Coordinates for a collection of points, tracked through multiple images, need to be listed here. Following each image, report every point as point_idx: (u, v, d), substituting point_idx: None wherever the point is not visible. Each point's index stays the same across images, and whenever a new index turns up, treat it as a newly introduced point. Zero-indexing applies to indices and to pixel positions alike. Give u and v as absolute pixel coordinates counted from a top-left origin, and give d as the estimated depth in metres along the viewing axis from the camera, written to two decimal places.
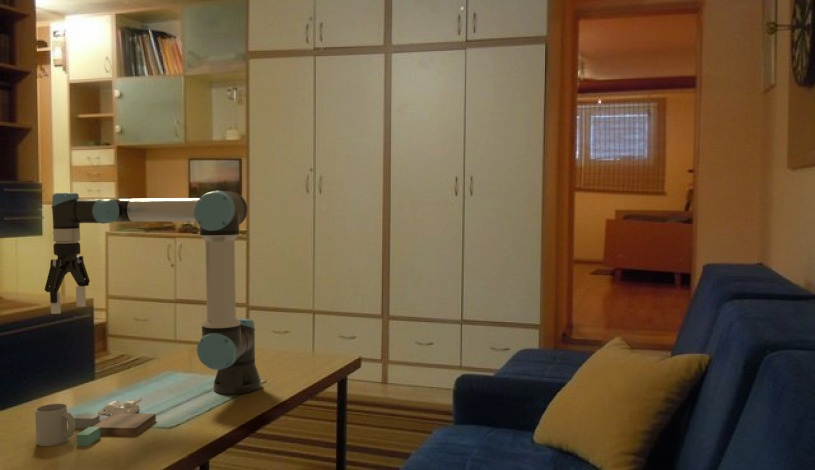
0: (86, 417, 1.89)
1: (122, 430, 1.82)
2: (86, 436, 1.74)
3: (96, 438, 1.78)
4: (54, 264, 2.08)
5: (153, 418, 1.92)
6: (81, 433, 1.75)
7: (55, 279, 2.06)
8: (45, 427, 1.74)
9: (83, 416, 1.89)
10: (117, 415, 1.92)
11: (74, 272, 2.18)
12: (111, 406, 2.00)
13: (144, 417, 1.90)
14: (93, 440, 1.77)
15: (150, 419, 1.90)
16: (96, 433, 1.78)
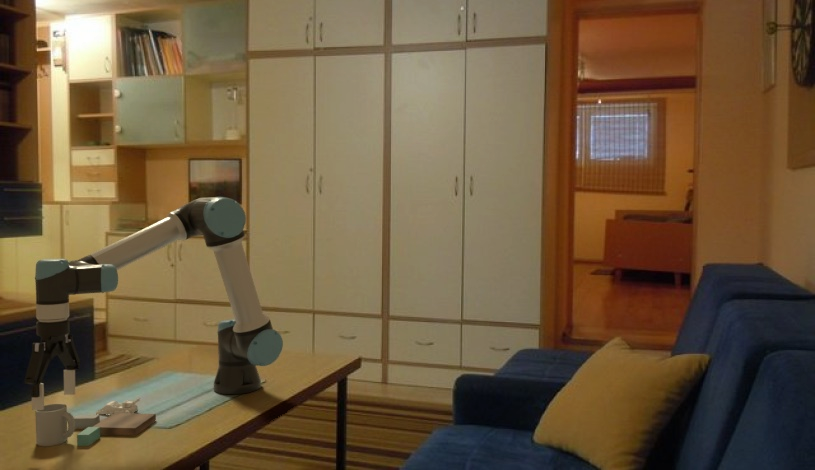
0: (86, 417, 1.89)
1: (122, 430, 1.82)
2: (86, 436, 1.74)
3: (96, 438, 1.78)
4: (36, 349, 1.69)
5: (153, 418, 1.92)
6: (81, 433, 1.75)
7: (37, 368, 1.68)
8: (45, 427, 1.74)
9: (83, 416, 1.89)
10: (117, 415, 1.92)
11: (61, 354, 1.79)
12: (109, 406, 2.00)
13: (144, 417, 1.90)
14: (93, 440, 1.77)
15: (150, 419, 1.90)
16: (96, 433, 1.78)
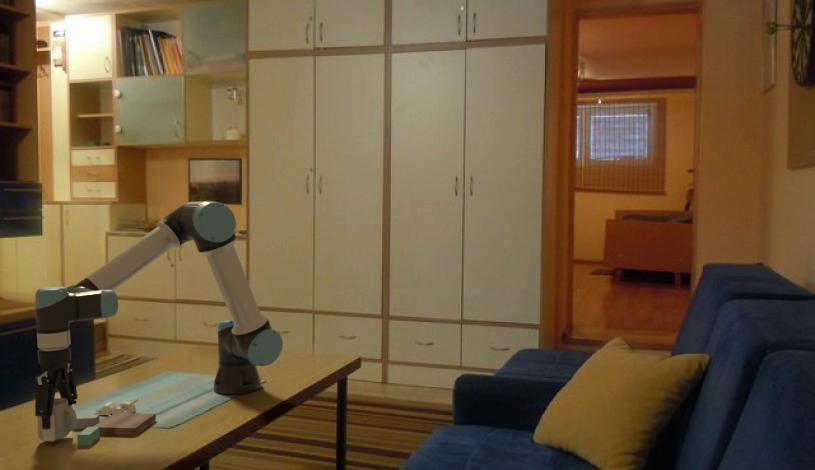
0: (86, 416, 1.89)
1: (122, 430, 1.82)
2: (87, 436, 1.74)
3: (96, 438, 1.79)
4: (40, 383, 1.70)
5: (153, 418, 1.92)
6: (82, 433, 1.75)
7: (45, 401, 1.70)
8: None
9: (83, 416, 1.89)
10: (117, 415, 1.92)
11: (61, 384, 1.79)
12: (107, 407, 1.99)
13: (144, 417, 1.90)
14: (93, 440, 1.77)
15: (150, 419, 1.90)
16: (96, 433, 1.79)
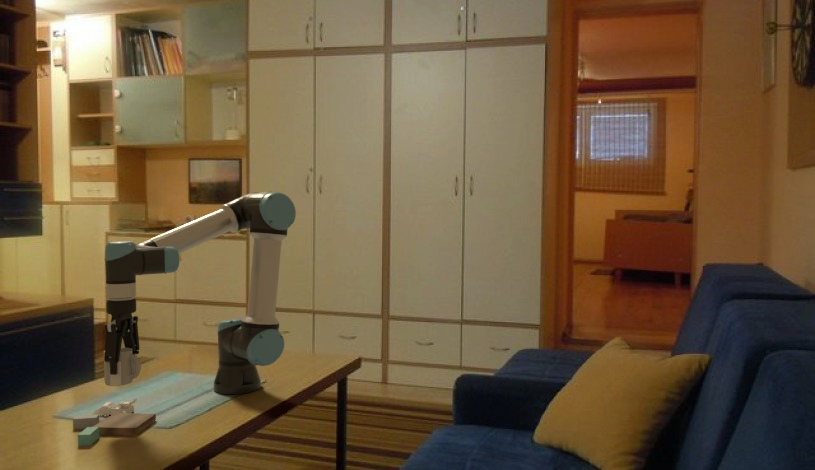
0: (86, 416, 1.89)
1: (122, 430, 1.82)
2: (87, 436, 1.74)
3: (96, 438, 1.79)
4: (109, 330, 1.80)
5: (153, 418, 1.92)
6: (82, 433, 1.75)
7: (114, 347, 1.80)
8: None
9: (83, 416, 1.89)
10: (117, 415, 1.92)
11: (126, 334, 1.89)
12: (106, 407, 1.99)
13: (144, 417, 1.90)
14: (94, 440, 1.77)
15: (150, 419, 1.90)
16: (96, 433, 1.79)
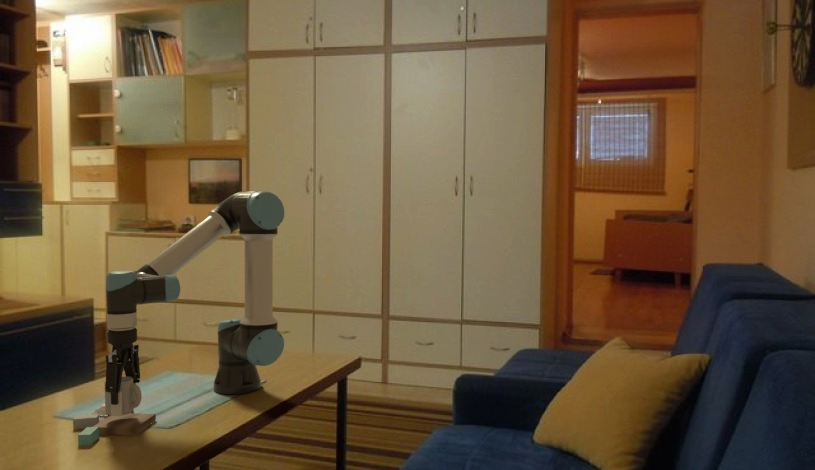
0: (86, 416, 1.89)
1: (122, 430, 1.82)
2: (88, 436, 1.74)
3: (96, 438, 1.79)
4: (110, 361, 1.81)
5: (153, 418, 1.92)
6: (82, 433, 1.75)
7: (115, 378, 1.81)
8: None
9: (83, 416, 1.89)
10: None
11: (127, 363, 1.89)
12: None
13: (144, 417, 1.90)
14: (94, 440, 1.77)
15: (150, 419, 1.90)
16: (96, 433, 1.79)
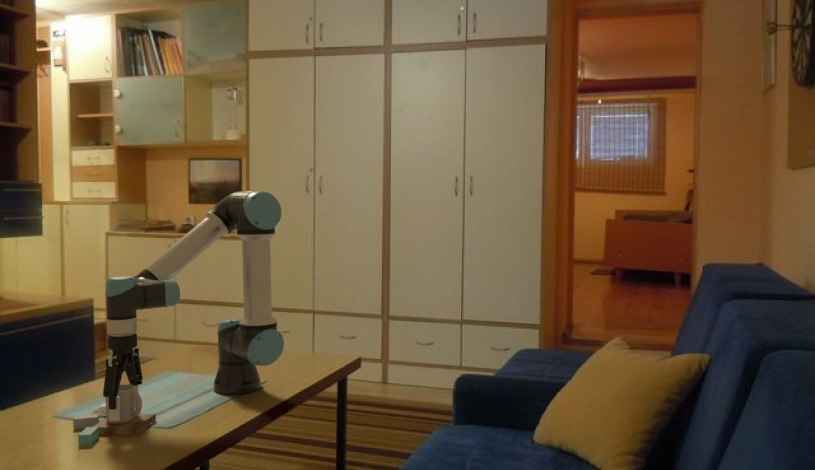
0: (87, 416, 1.89)
1: (122, 430, 1.82)
2: (88, 436, 1.75)
3: (96, 438, 1.79)
4: (110, 365, 1.80)
5: (153, 418, 1.92)
6: (82, 433, 1.75)
7: (113, 382, 1.80)
8: None
9: (83, 416, 1.89)
10: None
11: (128, 368, 1.90)
12: (104, 407, 1.99)
13: (144, 417, 1.90)
14: (94, 440, 1.77)
15: (150, 419, 1.90)
16: (96, 433, 1.79)
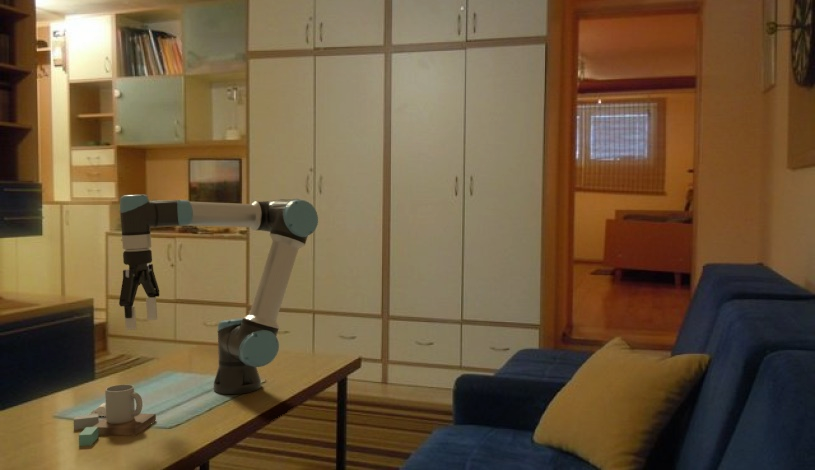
0: (87, 416, 1.89)
1: (122, 430, 1.82)
2: (89, 435, 1.75)
3: (96, 438, 1.79)
4: (127, 275, 1.86)
5: (153, 418, 1.92)
6: (83, 433, 1.75)
7: (130, 292, 1.85)
8: (115, 406, 1.84)
9: (83, 416, 1.89)
10: None
11: (145, 282, 1.97)
12: (103, 408, 1.98)
13: (144, 417, 1.90)
14: (94, 440, 1.77)
15: (150, 419, 1.90)
16: (96, 433, 1.79)
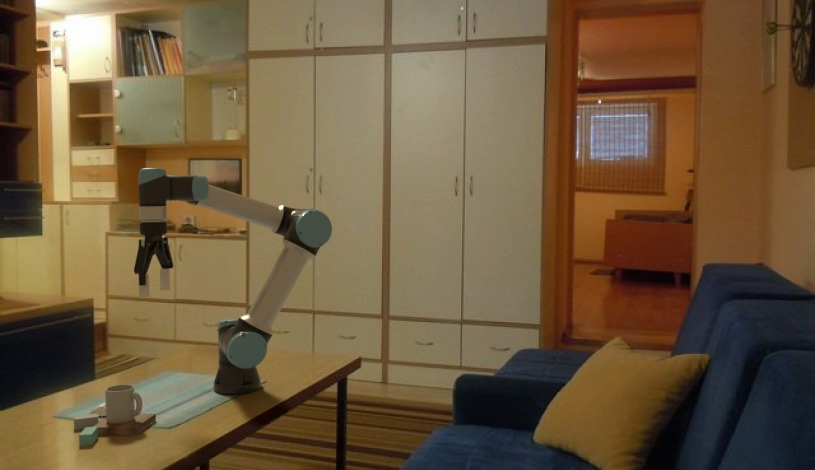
0: (87, 416, 1.89)
1: (122, 430, 1.82)
2: (89, 435, 1.75)
3: (96, 438, 1.79)
4: (143, 244, 1.94)
5: (153, 418, 1.92)
6: (83, 433, 1.75)
7: (144, 260, 1.93)
8: (115, 406, 1.84)
9: (82, 416, 1.89)
10: None
11: (159, 253, 2.05)
12: (102, 408, 1.98)
13: (144, 417, 1.90)
14: (94, 439, 1.77)
15: (150, 419, 1.90)
16: (95, 433, 1.79)
